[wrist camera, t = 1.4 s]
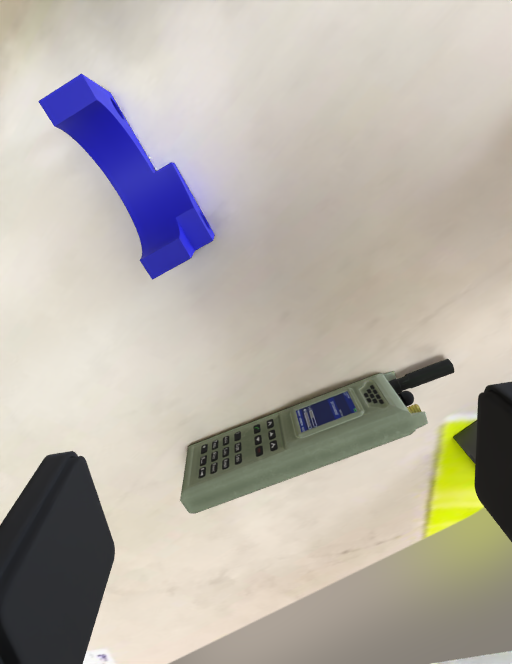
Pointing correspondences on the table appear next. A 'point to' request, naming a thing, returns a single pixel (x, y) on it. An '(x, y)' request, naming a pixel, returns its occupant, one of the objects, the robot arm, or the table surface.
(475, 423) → the tape dispenser
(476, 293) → the table surface
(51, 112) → the blue semicircular clamp bracket
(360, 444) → the handheld radio
